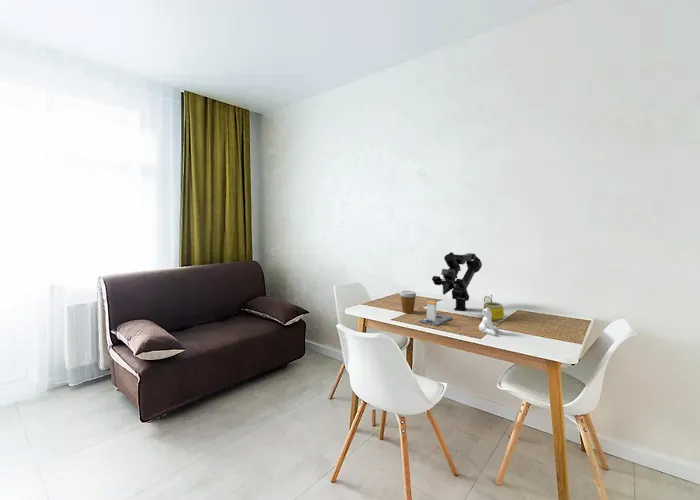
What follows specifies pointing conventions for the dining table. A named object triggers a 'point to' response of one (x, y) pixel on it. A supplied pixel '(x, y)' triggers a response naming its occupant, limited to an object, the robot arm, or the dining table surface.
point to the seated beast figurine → (488, 323)
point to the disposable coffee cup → (408, 301)
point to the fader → (431, 310)
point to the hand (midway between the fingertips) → (443, 294)
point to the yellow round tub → (494, 309)
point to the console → (439, 320)
